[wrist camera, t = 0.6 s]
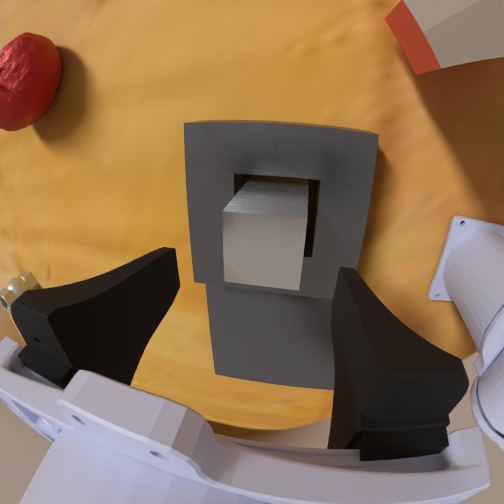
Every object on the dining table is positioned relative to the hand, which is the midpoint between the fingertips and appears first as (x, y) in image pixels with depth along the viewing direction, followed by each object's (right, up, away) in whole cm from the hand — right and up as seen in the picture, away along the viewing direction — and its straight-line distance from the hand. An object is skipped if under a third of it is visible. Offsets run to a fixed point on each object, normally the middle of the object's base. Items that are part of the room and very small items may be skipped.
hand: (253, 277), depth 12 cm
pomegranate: (-21, +19, +7) cm, 29 cm away
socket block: (+2, +5, +9) cm, 10 cm away
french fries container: (+14, +17, 0) cm, 22 cm away
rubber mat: (+3, -8, +15) cm, 17 cm away
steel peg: (+2, +5, +9) cm, 10 cm away
